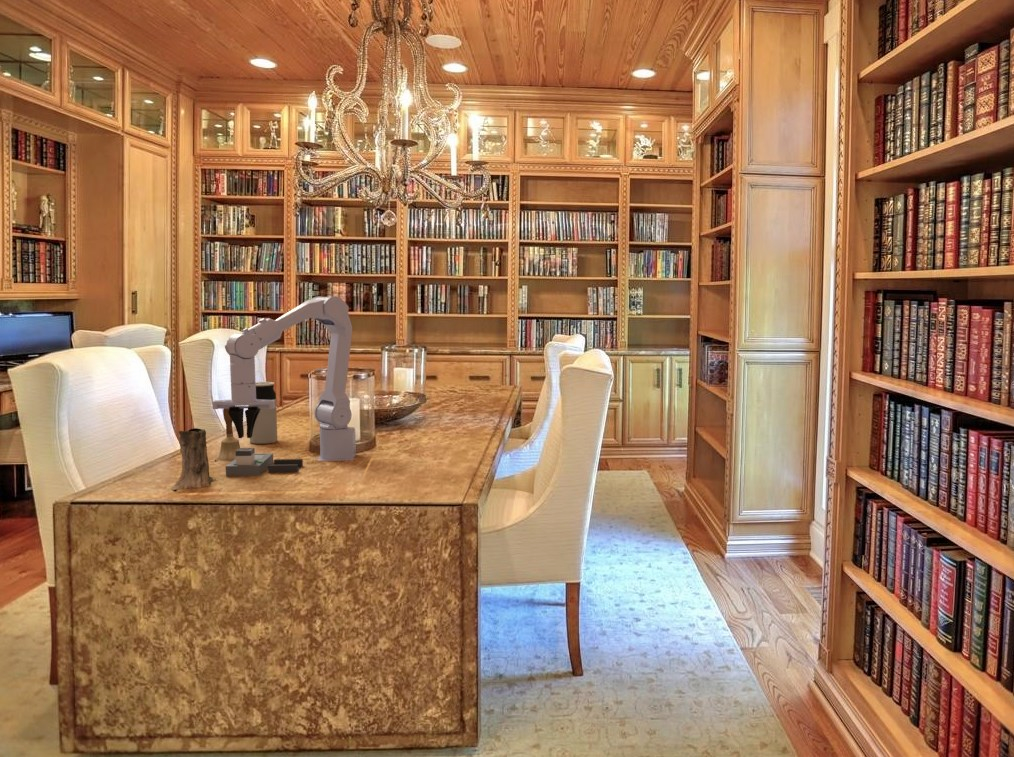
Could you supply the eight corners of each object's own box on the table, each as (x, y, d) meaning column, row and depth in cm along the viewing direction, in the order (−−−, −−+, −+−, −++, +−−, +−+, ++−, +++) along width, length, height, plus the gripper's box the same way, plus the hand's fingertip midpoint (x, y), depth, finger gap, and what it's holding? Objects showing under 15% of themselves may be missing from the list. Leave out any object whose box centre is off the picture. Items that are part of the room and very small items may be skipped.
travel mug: (283, 441, 221) (281, 382, 218) (261, 445, 214) (259, 385, 212) (265, 438, 225) (263, 380, 223) (244, 442, 218) (241, 383, 216)
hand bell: (236, 463, 191) (233, 404, 190) (208, 461, 193) (205, 403, 191) (253, 456, 200) (250, 399, 198) (226, 455, 201) (223, 398, 199)
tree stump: (170, 493, 162) (168, 434, 161) (172, 483, 171) (170, 427, 170) (218, 489, 166) (216, 432, 165) (217, 480, 175) (215, 425, 174)
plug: (255, 473, 181) (254, 447, 180) (251, 476, 178) (250, 450, 177) (240, 473, 181) (239, 448, 180) (236, 477, 177) (235, 451, 176)
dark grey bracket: (302, 467, 187) (302, 458, 186) (297, 474, 180) (296, 465, 179) (275, 468, 186) (274, 459, 186) (268, 475, 179) (268, 465, 179)
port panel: (273, 464, 190) (273, 451, 190) (259, 477, 177) (259, 464, 176) (242, 464, 190) (241, 452, 189) (226, 478, 176) (225, 464, 176)
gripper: (207, 385, 172) (210, 440, 174) (269, 384, 174) (271, 440, 175) (216, 381, 179) (219, 435, 181) (276, 381, 181) (278, 434, 182)
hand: (245, 437), depth 179 cm, fingers closed
